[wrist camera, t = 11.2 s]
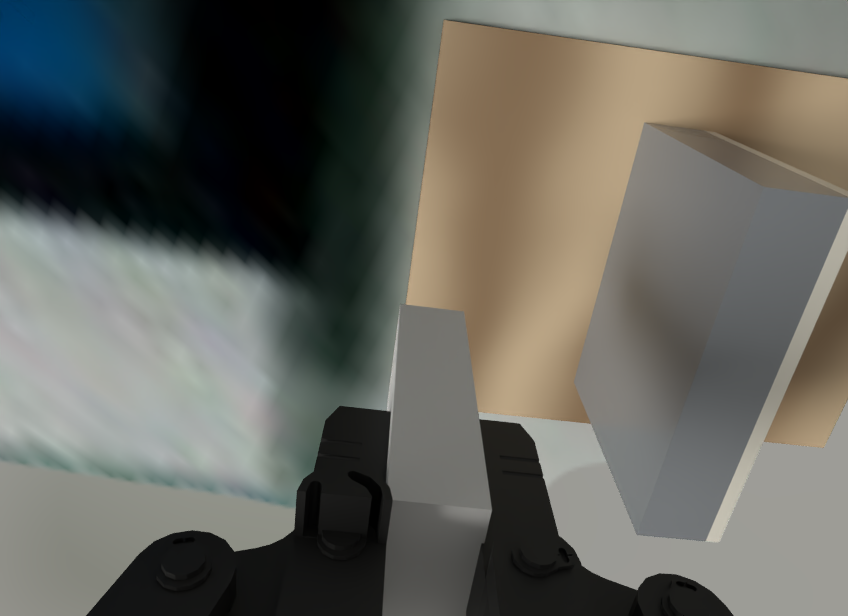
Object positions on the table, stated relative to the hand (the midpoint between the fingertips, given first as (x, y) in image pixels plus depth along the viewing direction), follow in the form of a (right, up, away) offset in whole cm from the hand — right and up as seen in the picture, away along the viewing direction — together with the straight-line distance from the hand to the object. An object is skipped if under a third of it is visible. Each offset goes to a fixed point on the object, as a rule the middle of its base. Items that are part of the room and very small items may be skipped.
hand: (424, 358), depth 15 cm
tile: (+8, +3, +8) cm, 11 cm away
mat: (+9, +3, +8) cm, 12 cm away
